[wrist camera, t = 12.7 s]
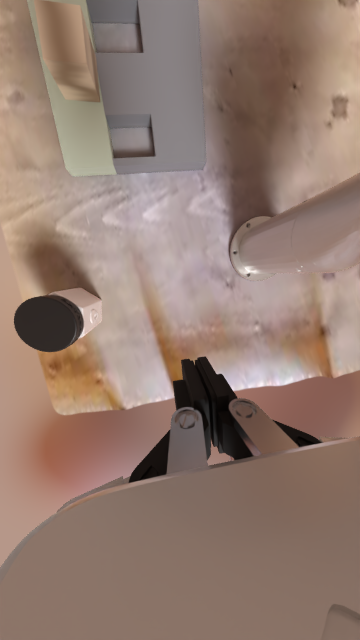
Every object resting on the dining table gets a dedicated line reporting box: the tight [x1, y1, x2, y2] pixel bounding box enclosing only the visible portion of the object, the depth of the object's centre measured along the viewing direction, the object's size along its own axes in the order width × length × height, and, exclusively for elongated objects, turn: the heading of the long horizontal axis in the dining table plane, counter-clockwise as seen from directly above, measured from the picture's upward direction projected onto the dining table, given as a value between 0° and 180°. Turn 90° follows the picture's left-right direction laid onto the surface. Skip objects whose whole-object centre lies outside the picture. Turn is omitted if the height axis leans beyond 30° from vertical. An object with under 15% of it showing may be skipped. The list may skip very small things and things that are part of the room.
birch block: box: [34, 0, 100, 102], centre depth 23 cm, size 5×5×5 cm
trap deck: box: [27, 0, 206, 177], centre depth 27 cm, size 23×20×2 cm
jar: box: [14, 287, 102, 352], centre depth 30 cm, size 9×8×12 cm
